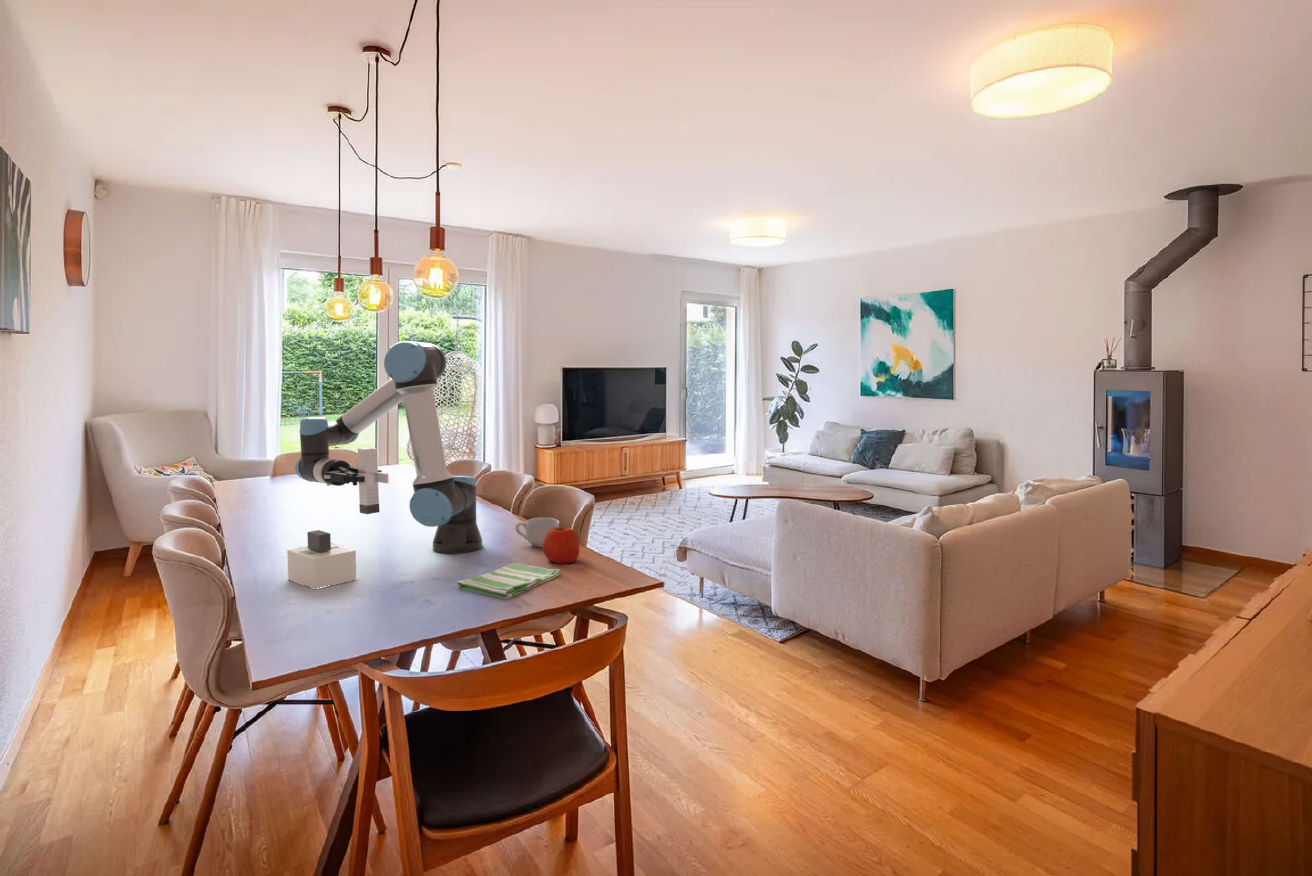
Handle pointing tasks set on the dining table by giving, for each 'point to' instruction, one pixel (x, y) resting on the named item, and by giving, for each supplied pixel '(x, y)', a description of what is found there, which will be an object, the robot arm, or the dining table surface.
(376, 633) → the dining table surface
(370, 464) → the white tall square post
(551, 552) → the apple
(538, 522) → the teacup
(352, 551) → the bevelled white plinth
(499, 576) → the dish towel
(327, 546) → the knob
